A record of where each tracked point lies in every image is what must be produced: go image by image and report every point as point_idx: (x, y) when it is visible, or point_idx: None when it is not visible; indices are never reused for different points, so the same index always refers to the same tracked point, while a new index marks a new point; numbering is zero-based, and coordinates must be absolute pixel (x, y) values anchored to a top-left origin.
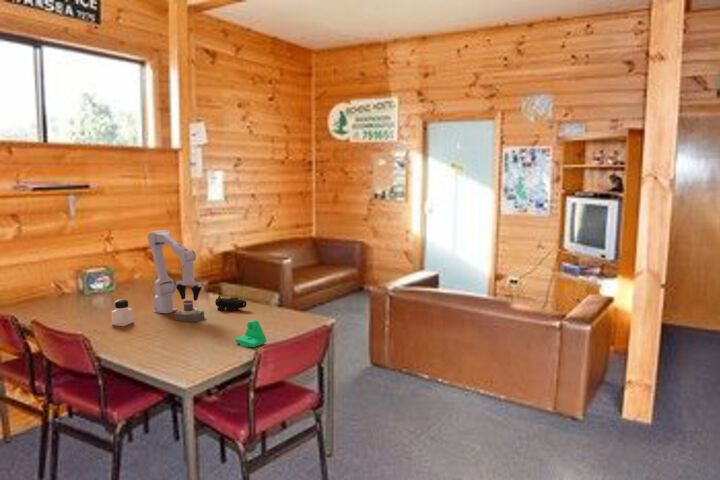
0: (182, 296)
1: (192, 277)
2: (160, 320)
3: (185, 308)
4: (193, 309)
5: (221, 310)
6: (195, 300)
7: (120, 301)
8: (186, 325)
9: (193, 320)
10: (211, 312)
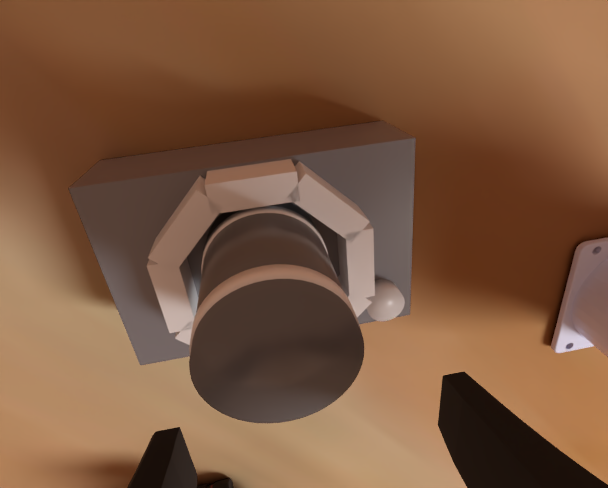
0: (475, 424)
1: None
2: (535, 33)
3: (263, 231)
4: None
5: (199, 486)
6: (153, 440)
7: None
8: (67, 3)
9: (109, 164)
10: (235, 430)
